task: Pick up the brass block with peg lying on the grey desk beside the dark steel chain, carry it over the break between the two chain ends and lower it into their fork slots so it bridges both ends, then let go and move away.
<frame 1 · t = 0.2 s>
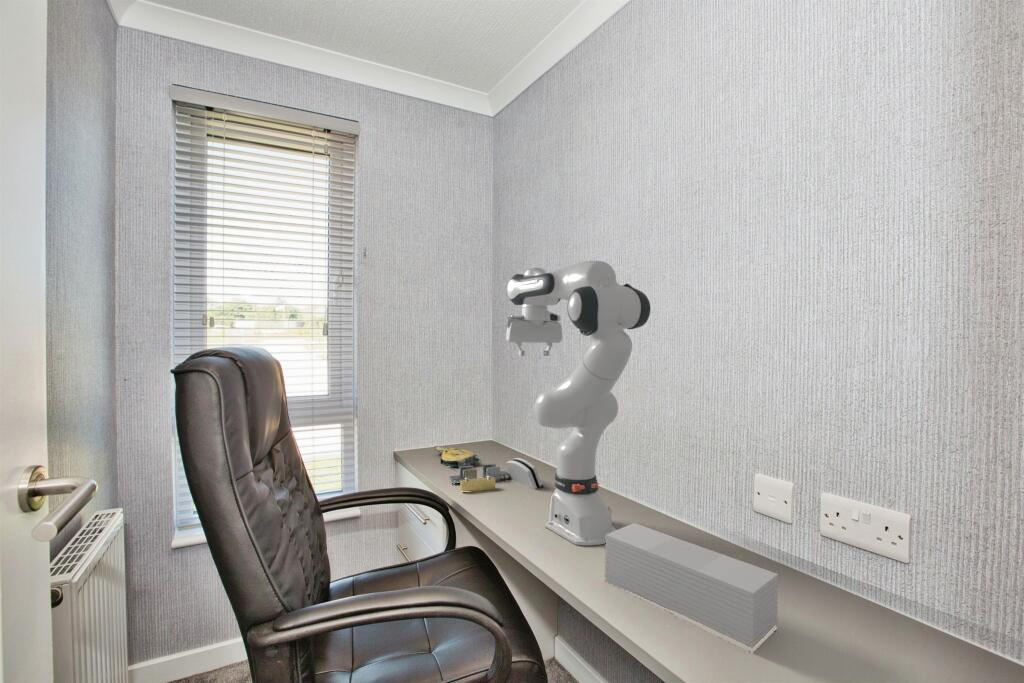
hand: (534, 355, 170), 47 cm above the table, tool pointing down, fingers open, 8 cm apart
chain end a: (497, 478, 185), on the table
grey half-round block: (523, 483, 180), on the table
pulley block: (453, 461, 211), on the table
chain end b: (461, 482, 180), on the table
stack of papers: (683, 605, 100), on the table
brass block with peg: (477, 490, 171), on the table
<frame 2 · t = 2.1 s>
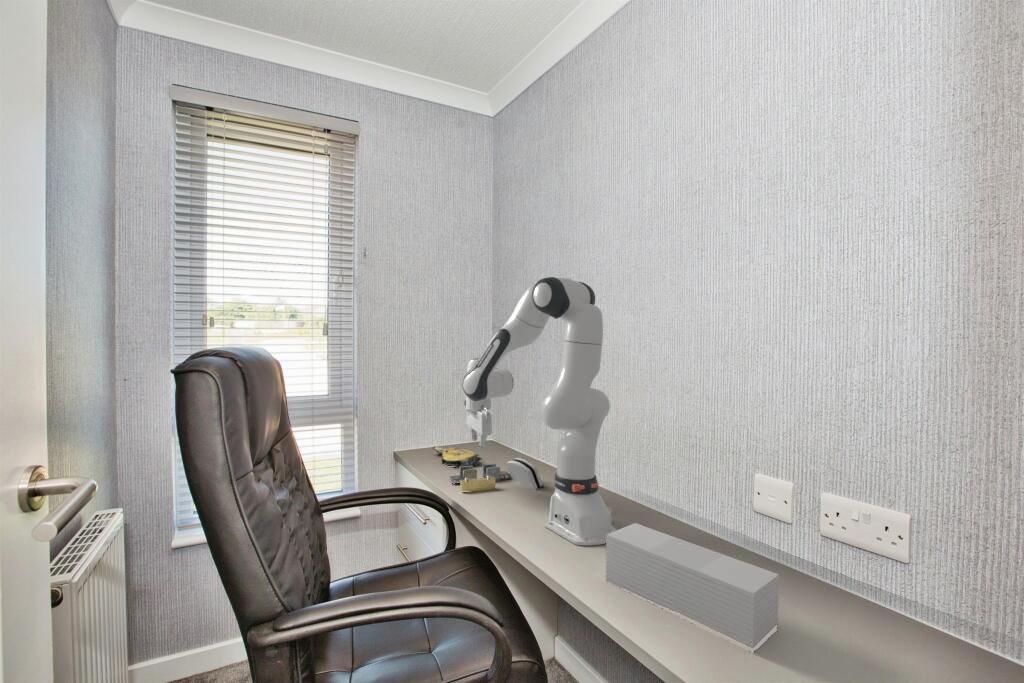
hand: (478, 443, 171), 16 cm above the table, tool pointing down, fingers open, 8 cm apart
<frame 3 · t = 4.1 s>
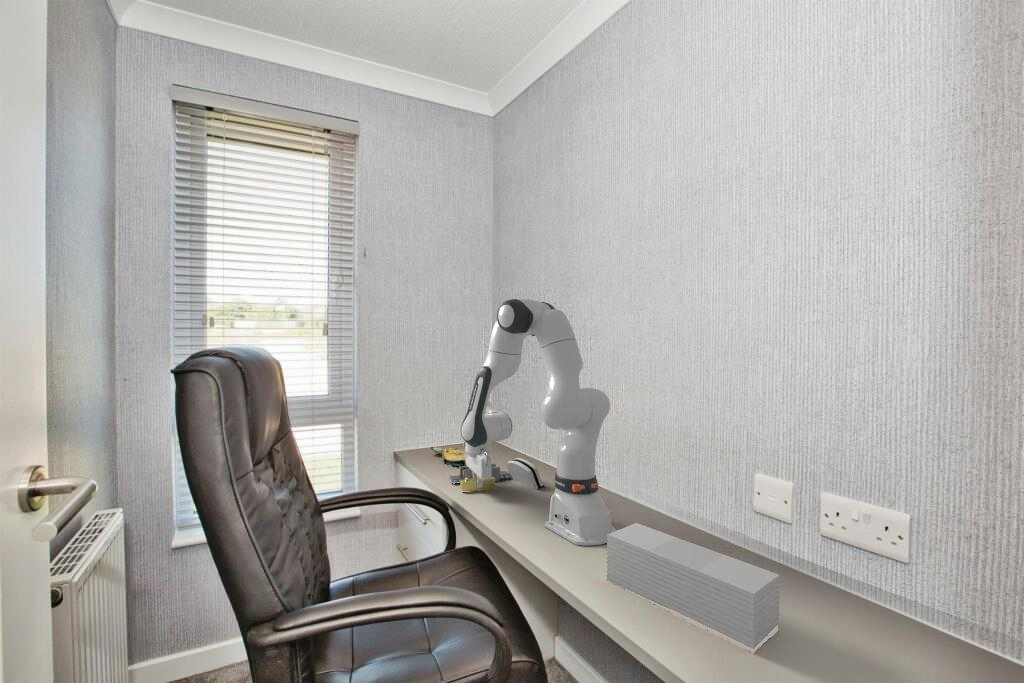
hand: (477, 485, 171), 2 cm above the table, tool pointing down, fingers closed on brass block with peg, 2 cm apart
brass block with peg: (477, 490, 171), on the table, touching gripper
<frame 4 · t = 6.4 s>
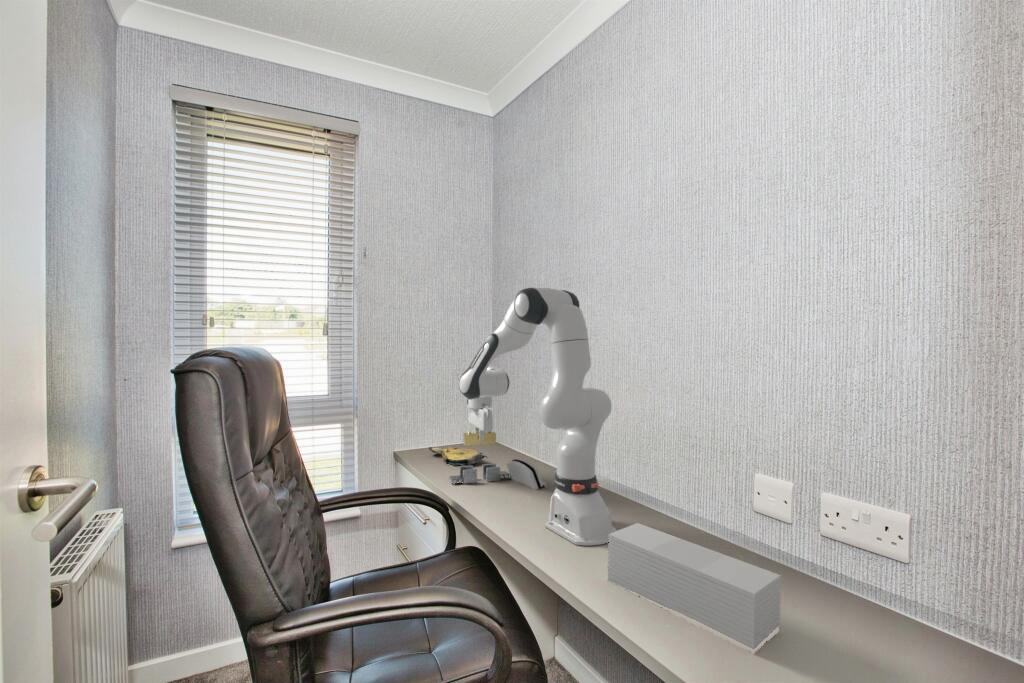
hand: (479, 439, 183), 15 cm above the table, tool pointing down, fingers closed on brass block with peg, 2 cm apart
brass block with peg: (479, 443, 183), point 14 cm above the table, touching gripper
when the fingers open (2 cm above the table, at t = 8.6 s): brass block with peg stays where it is, on the table.
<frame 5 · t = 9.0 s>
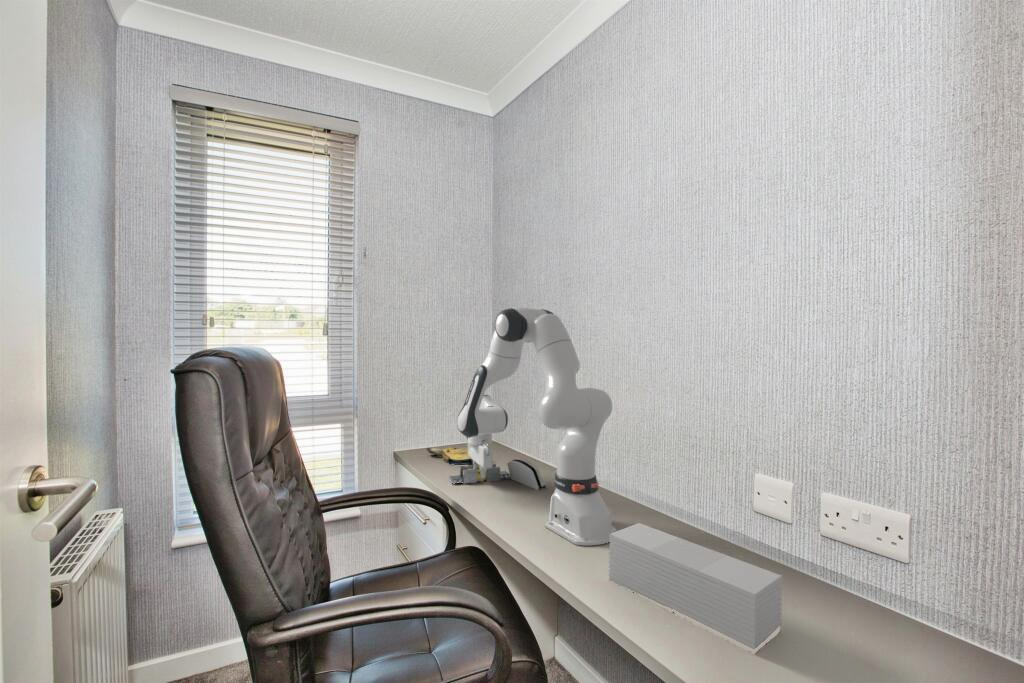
hand: (479, 474, 183), 2 cm above the table, tool pointing down, fingers open, 6 cm apart
brass block with peg: (479, 481, 183), on the table
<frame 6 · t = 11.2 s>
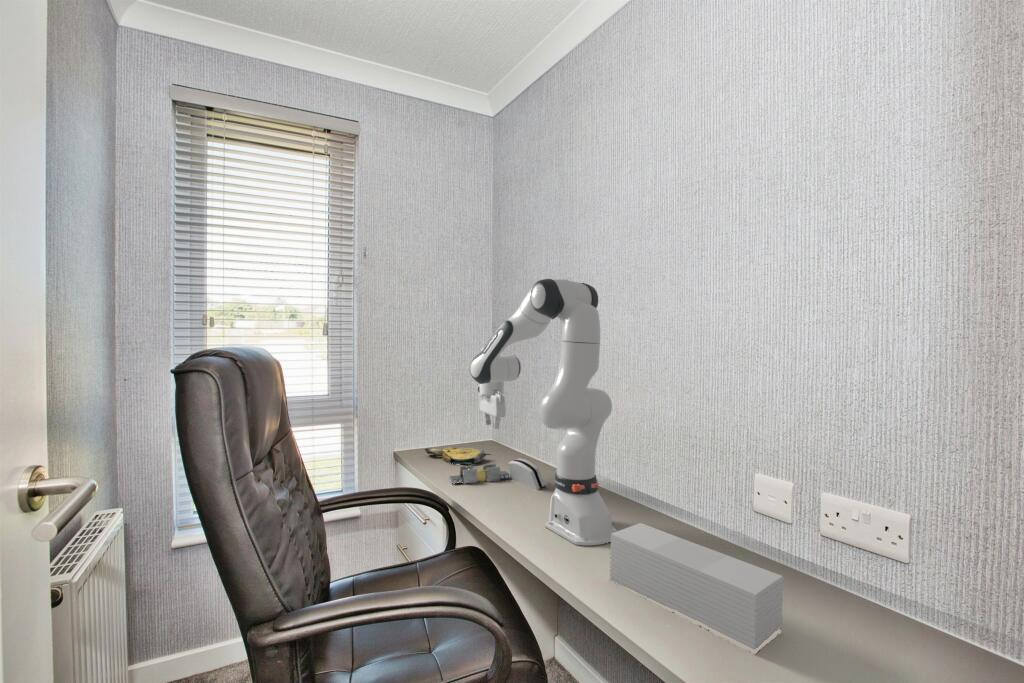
hand: (492, 426, 180), 21 cm above the table, tool pointing down, fingers open, 8 cm apart
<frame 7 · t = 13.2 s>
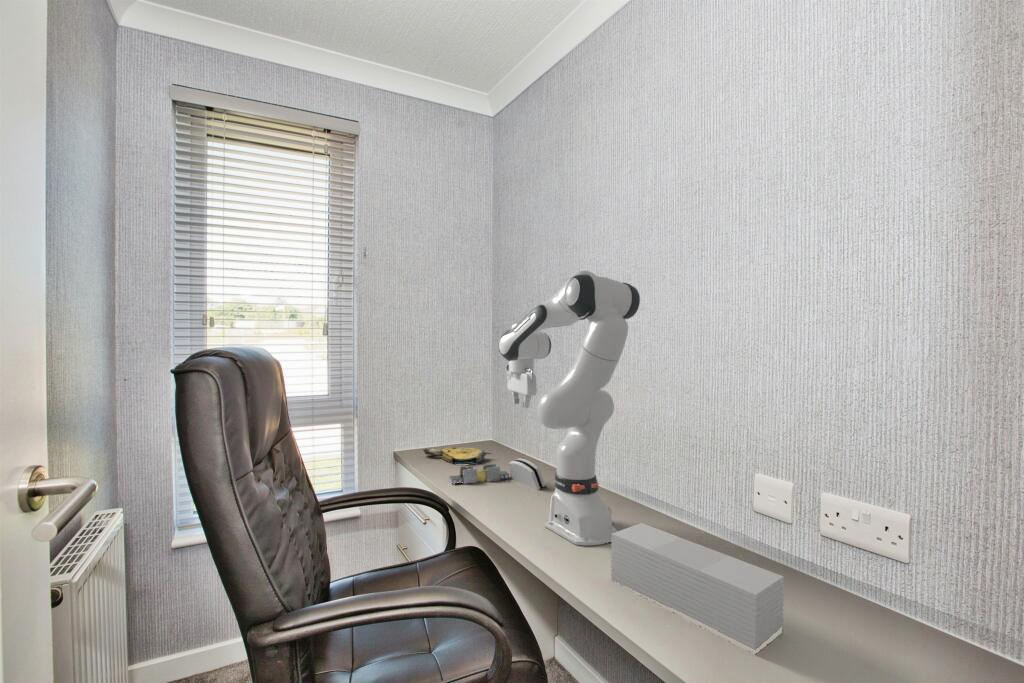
hand: (521, 405, 176), 29 cm above the table, tool pointing down, fingers open, 8 cm apart
at the end: brass block with peg 0.1 cm from the target spot, on the table; brass block with peg tilted 0°; the gripper is holding nothing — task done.
